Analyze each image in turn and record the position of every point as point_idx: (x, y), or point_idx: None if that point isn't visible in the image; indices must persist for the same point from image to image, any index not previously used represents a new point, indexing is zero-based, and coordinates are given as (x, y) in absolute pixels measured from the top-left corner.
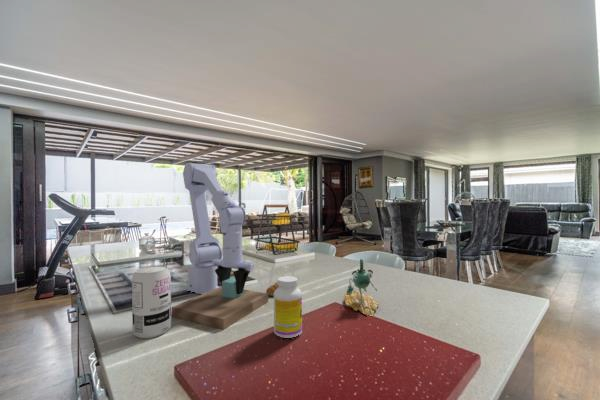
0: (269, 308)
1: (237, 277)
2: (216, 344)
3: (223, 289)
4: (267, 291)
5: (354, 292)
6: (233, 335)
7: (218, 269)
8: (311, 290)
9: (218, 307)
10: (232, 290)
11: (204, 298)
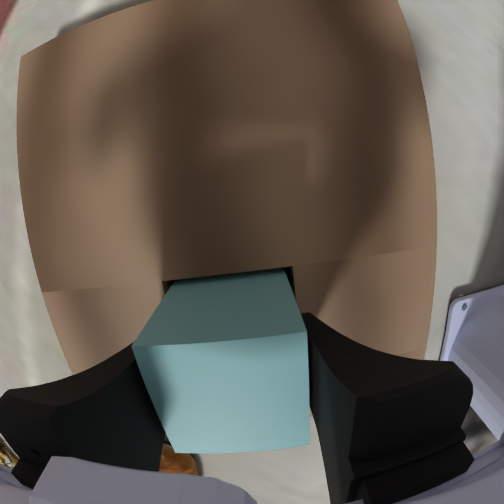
0: (50, 338)
1: (64, 387)
2: (21, 15)
3: (277, 298)
4: (168, 456)
5: (2, 464)
6: (3, 76)
7: (429, 420)
8: None
9: (133, 109)
10: (171, 311)
11: (366, 170)
